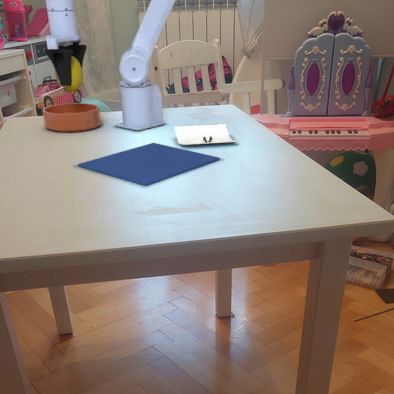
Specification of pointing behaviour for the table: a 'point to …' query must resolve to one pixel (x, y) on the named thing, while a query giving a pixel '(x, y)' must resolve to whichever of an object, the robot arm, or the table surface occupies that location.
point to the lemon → (75, 76)
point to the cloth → (149, 163)
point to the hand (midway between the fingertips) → (71, 83)
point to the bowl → (72, 117)
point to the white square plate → (202, 134)
